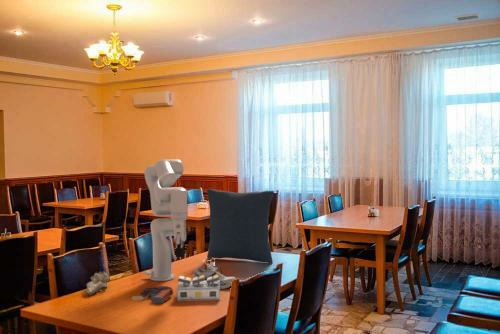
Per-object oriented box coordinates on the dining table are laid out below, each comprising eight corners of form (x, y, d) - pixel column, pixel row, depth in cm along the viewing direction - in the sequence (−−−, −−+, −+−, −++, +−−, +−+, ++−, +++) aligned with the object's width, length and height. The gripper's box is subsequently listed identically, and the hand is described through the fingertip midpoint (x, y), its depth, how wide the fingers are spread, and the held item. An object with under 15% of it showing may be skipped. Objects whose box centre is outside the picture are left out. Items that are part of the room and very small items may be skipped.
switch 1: (177, 281, 219) (178, 277, 219) (178, 278, 224) (179, 275, 224) (189, 284, 219) (190, 280, 219) (190, 281, 224) (191, 278, 224)
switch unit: (176, 301, 216) (176, 286, 215) (179, 293, 228) (179, 278, 228) (219, 300, 217) (219, 285, 216) (220, 292, 229) (219, 277, 228)
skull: (118, 275, 239) (102, 263, 240) (96, 295, 223) (79, 282, 224) (111, 287, 243) (96, 275, 244) (89, 308, 227) (72, 294, 228)
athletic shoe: (234, 289, 232) (235, 264, 235) (188, 288, 237) (189, 263, 239) (239, 288, 242) (239, 264, 244) (195, 287, 247) (196, 263, 249)
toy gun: (163, 305, 213) (180, 292, 227) (161, 293, 212) (178, 281, 226) (130, 306, 219) (148, 293, 233) (127, 294, 219) (146, 282, 233)
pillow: (278, 260, 293) (278, 188, 292) (270, 266, 278) (270, 191, 277) (212, 255, 308) (212, 187, 306) (202, 261, 293) (201, 189, 291)
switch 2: (192, 283, 219) (192, 280, 219) (193, 281, 224) (192, 278, 224) (204, 280, 220) (204, 277, 220) (205, 277, 224) (204, 274, 224)
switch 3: (207, 283, 220) (206, 280, 220) (207, 280, 225) (206, 277, 225) (219, 280, 220) (218, 277, 220) (219, 277, 225) (218, 274, 225)
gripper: (186, 218, 212) (186, 260, 213) (188, 213, 229) (189, 252, 229) (168, 218, 212) (169, 260, 213) (172, 213, 228) (173, 252, 229)
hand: (179, 255), depth 221 cm, fingers open, 3 cm apart
